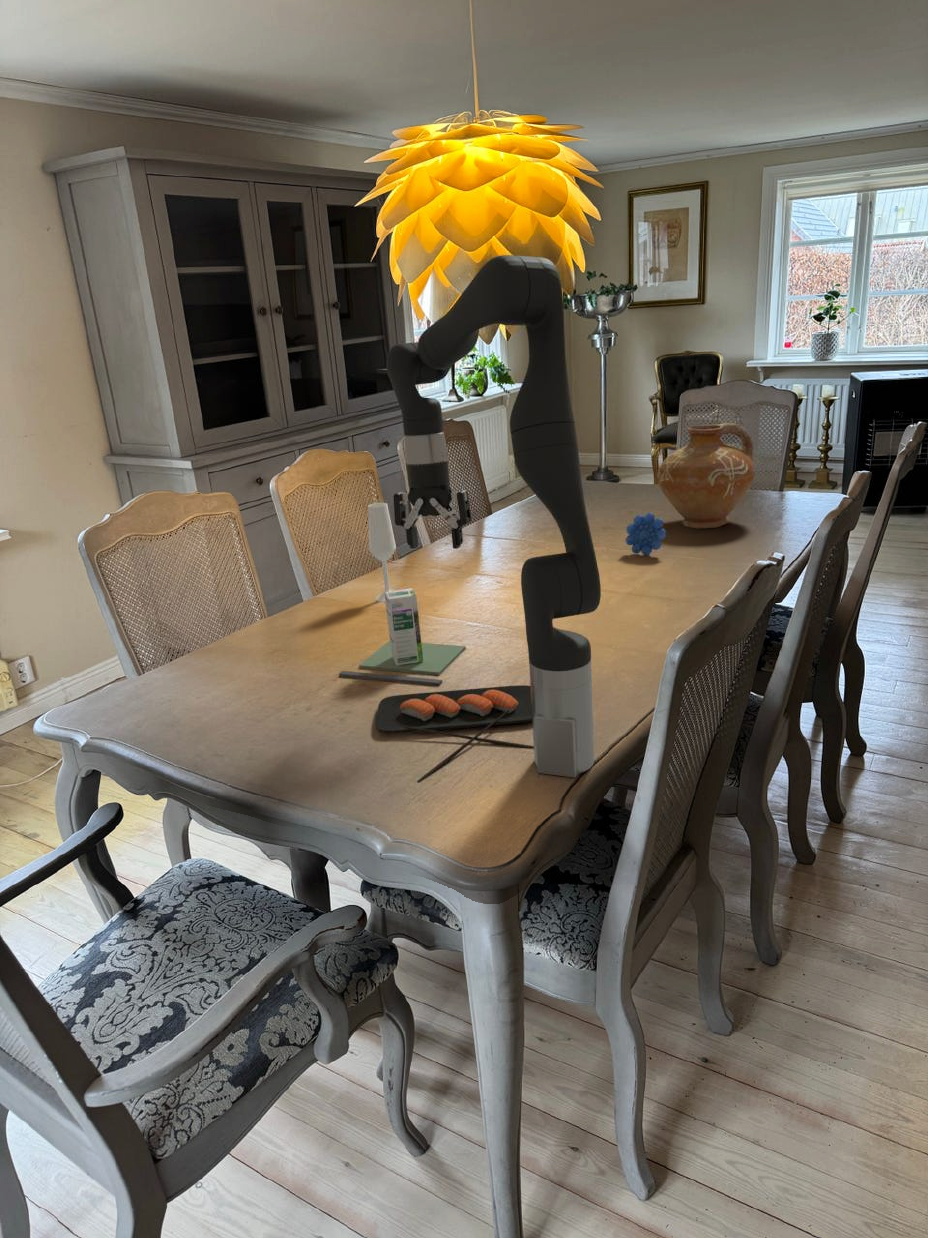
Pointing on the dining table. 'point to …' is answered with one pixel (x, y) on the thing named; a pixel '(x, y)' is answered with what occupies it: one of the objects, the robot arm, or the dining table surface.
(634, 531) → the blue bumpy cluster
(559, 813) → the dining table surface
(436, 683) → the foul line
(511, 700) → the sushi plate
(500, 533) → the dining table surface
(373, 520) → the champagne flute
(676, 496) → the jug
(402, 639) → the syrup box
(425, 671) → the mat
